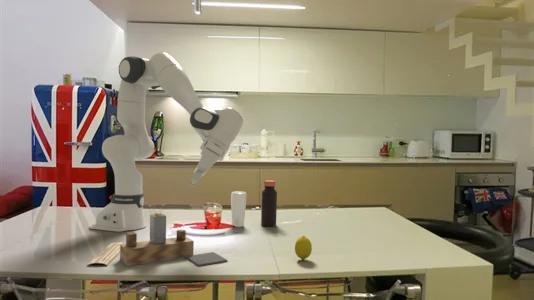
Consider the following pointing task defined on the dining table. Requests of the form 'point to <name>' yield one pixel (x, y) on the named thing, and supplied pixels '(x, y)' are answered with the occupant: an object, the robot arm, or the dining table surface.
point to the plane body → (155, 249)
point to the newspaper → (107, 254)
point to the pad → (206, 259)
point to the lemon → (303, 247)
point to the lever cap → (157, 228)
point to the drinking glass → (238, 208)
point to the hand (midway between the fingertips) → (192, 184)
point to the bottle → (269, 204)
